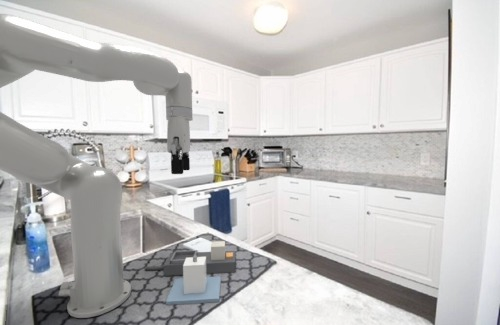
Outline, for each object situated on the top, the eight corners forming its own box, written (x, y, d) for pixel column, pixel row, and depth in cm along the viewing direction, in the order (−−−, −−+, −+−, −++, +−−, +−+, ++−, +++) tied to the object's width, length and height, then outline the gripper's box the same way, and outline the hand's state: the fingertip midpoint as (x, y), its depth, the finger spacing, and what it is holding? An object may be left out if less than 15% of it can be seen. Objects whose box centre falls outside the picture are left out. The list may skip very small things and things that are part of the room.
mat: (166, 305, 52) (166, 301, 52) (175, 281, 61) (175, 278, 61) (219, 301, 53) (219, 298, 53) (220, 279, 62) (220, 276, 62)
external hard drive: (204, 259, 74) (182, 248, 82) (223, 250, 80) (201, 240, 88) (204, 254, 74) (182, 243, 82) (223, 245, 80) (201, 236, 88)
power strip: (139, 277, 63) (138, 252, 62) (148, 263, 70) (147, 241, 69) (235, 272, 65) (235, 248, 64) (235, 259, 72) (234, 238, 71)
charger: (183, 293, 54) (182, 260, 54) (186, 283, 58) (186, 253, 58) (205, 292, 55) (204, 259, 54) (206, 282, 59) (205, 252, 58)
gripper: (174, 118, 76) (175, 169, 77) (157, 110, 59) (159, 176, 60) (196, 118, 77) (197, 168, 78) (186, 110, 59) (188, 175, 61)
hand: (181, 171), depth 69 cm, fingers open, 9 cm apart
